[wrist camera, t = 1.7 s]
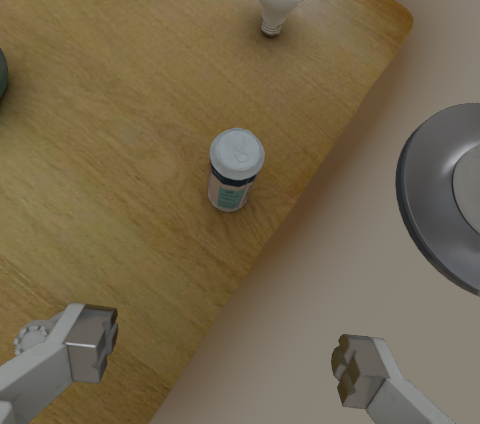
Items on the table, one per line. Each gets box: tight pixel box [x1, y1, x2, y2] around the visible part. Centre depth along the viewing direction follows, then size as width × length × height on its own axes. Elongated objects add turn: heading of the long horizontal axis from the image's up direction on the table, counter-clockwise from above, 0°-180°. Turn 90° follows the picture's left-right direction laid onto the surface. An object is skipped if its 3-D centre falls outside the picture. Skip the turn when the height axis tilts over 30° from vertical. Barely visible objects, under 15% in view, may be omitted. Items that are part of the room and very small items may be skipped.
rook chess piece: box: [13, 311, 64, 355], centre depth 28 cm, size 4×4×8 cm
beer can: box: [208, 128, 265, 212], centre depth 32 cm, size 5×5×12 cm
